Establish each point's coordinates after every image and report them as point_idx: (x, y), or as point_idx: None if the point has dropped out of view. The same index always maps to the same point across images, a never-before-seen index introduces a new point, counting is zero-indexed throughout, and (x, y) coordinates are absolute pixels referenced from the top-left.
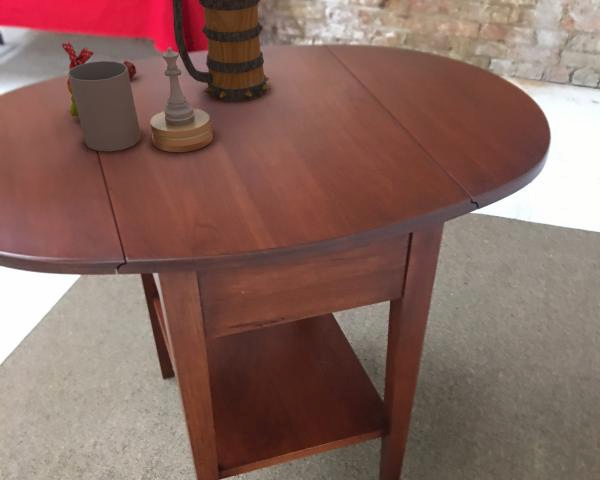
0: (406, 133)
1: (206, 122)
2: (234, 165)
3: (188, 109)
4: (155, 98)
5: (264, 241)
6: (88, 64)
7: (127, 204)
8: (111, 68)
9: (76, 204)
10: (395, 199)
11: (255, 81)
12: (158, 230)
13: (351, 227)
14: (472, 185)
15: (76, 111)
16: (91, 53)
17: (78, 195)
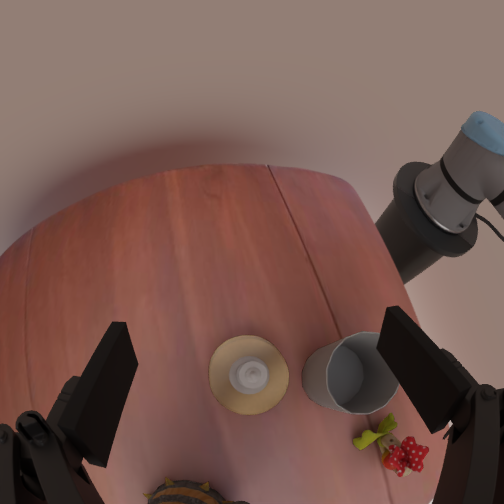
0: (26, 344)
1: (212, 363)
2: (183, 300)
3: (233, 366)
4: (300, 495)
5: (170, 177)
6: (385, 403)
7: (284, 231)
8: (354, 412)
9: (328, 235)
10: (70, 226)
11: (157, 494)
12: (249, 192)
13: (110, 192)
14: (24, 243)
15: (386, 419)
16: (390, 458)
17: (332, 250)
